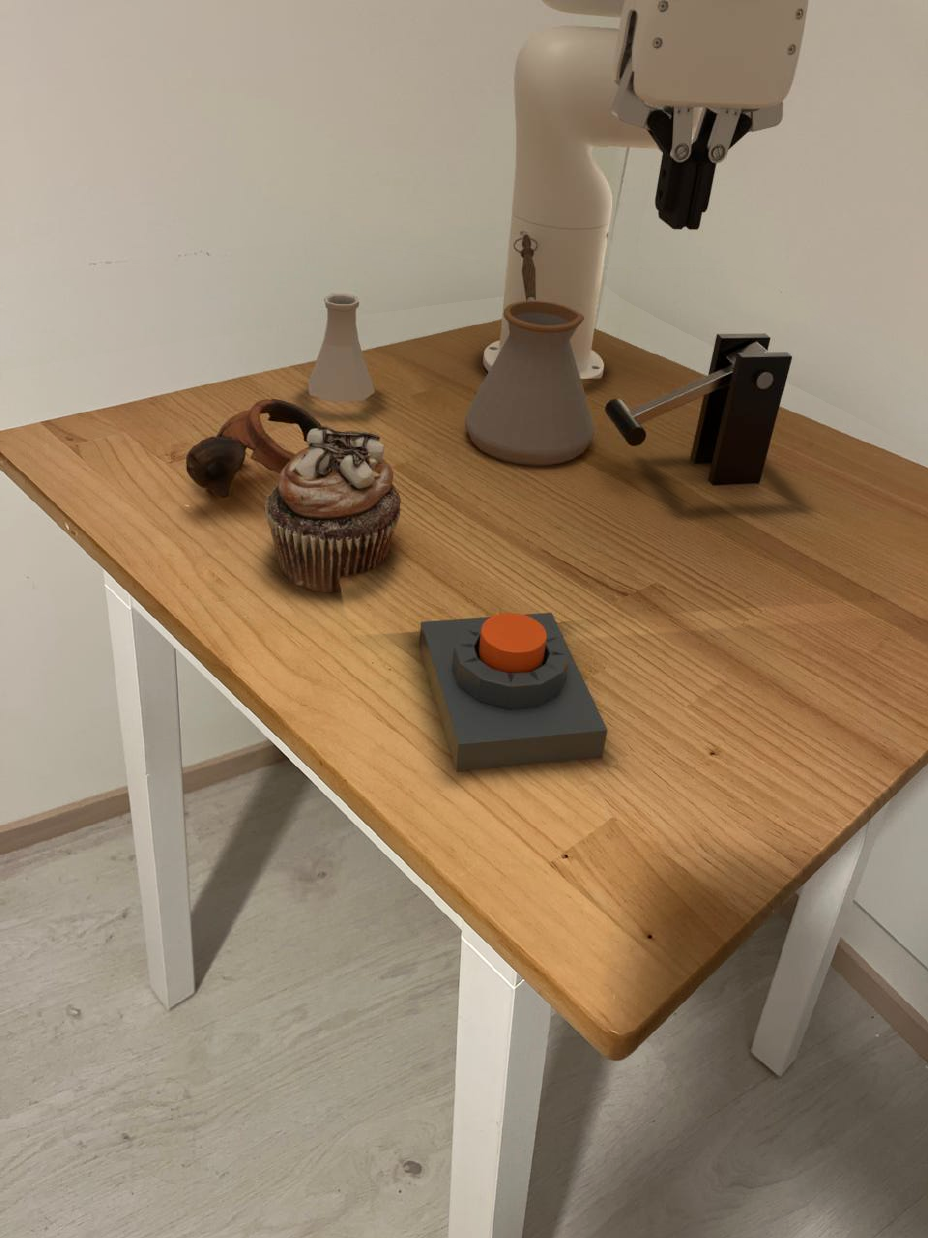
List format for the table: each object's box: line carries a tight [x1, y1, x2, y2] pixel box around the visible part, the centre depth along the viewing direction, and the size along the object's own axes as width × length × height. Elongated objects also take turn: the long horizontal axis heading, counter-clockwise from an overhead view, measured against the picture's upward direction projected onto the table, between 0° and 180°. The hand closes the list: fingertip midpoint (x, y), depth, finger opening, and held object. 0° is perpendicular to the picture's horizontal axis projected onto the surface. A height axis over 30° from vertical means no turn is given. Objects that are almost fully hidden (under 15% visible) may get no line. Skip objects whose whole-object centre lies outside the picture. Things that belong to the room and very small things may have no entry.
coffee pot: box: [464, 235, 595, 467], centre depth 96 cm, size 21×12×15 cm, turn 3°
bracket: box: [690, 332, 793, 486], centre depth 90 cm, size 11×9×13 cm
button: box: [479, 612, 547, 674], centre depth 65 cm, size 4×4×2 cm
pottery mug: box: [185, 398, 322, 500], centre depth 85 cm, size 12×10×8 cm
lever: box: [604, 342, 769, 447], centre depth 88 cm, size 13×6×2 cm, turn 102°
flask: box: [307, 293, 376, 403], centre depth 99 cm, size 7×7×10 cm
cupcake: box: [263, 425, 402, 593], centre depth 77 cm, size 10×10×10 cm
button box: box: [418, 612, 608, 772], centre depth 67 cm, size 12×9×4 cm
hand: (677, 222), depth 69 cm, fingers closed
